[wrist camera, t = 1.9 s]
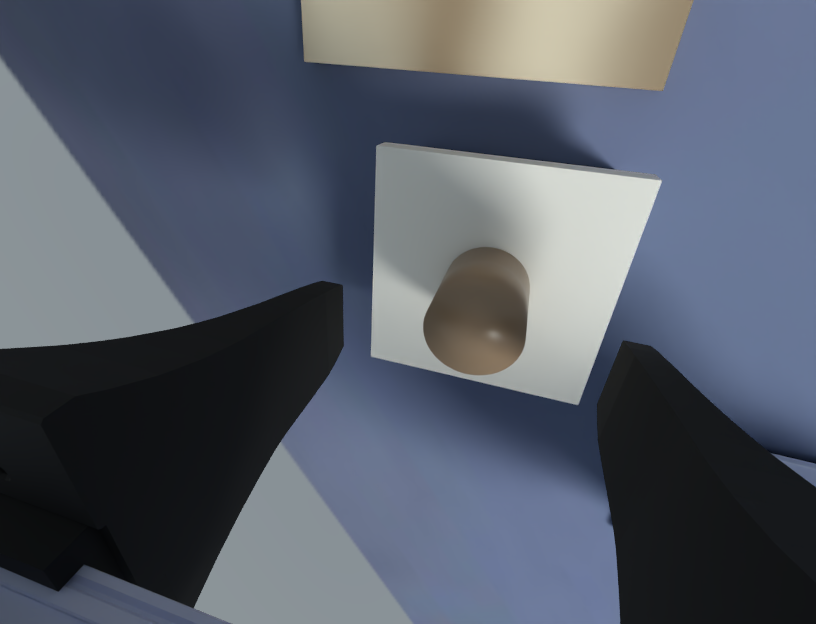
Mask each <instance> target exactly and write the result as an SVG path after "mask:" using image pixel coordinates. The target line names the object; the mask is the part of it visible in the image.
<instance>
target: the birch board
mask: <svg viewBox="0 0 816 624" xmlns="http://www.w3.org/2000/svg"><path fill="white" fill-rule="evenodd" d="M692 3H693V0H301V9H302V28H303V47H304V62H313V63H326V64H338V65H350V66H363V67H375V68H387V69H399V70H412V71H424V72H436V73H449V74H461V75H473V76H485V77H498V78H510V79H522V80H535V81H547V82H559V83H572V84H584V85H596V86H608V87H621V88H633V89H645V90H658V91H663V89H664V86H665V83H666V80H667V77H668V74H669V71H670V68H671V65H672V62H673V59H674V56H675V53H676V50H677V47H678V45H679V42H680V39H681V36H682V33H683V30H684V27H685V24H686V21H687V18H688V15H689V12H690V9H691V6H692Z"/></svg>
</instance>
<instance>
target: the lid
mask: <svg viewBox="0 0 816 624" xmlns="http://www.w3.org/2000/svg"><path fill="white" fill-rule="evenodd" d="M661 182H662V180H661V179H660V178H659V177H658V176H657V175H655V174H647V173H639V172H630V171H622V170H614V169H605V168H597V167H589V166H580V165H572V164H564V163H555V162H547V161H539V160H530V159H522V158H514V157H505V156H497V155H489V154H480V153H472V152H464V151H456V150H447V149H439V148H431V147H422V146H414V145H406V144H397V143H389V142H384V143H381V144H379V145H377V146H376V178H375V217H374V256H373V294H372V333H371V357H375V358H379V359H383V360H388V361H392V362H396V363H400V364H405V365H409V366H413V367H417V368H422V369H426V370H430V371H434V372H439V373H443V374H447V375H452V376H456V377H460V378H464V379H469V380H473V381H477V382H481V383H486V384H490V385H494V386H498V387H503V388H507V389H511V390H515V391H520V392H524V393H528V394H532V395H537V396H541V397H545V398H549V399H554V400H558V401H562V402H566V403H571V404H575V405H578V404H579V402H580V399H581V396H582V394H583V391H584V388H585V386H586V383H587V380H588V378H589V375H590V372H591V370H592V367H593V364H594V362H595V359H596V356H597V353H598V351H599V348H600V345H601V343H602V340H603V337H604V335H605V332H606V329H607V327H608V324H609V321H610V319H611V316H612V313H613V311H614V308H615V305H616V303H617V300H618V297H619V295H620V292H621V289H622V287H623V284H624V281H625V279H626V276H627V273H628V271H629V268H630V265H631V262H632V260H633V257H634V254H635V252H636V249H637V246H638V244H639V241H640V238H641V236H642V233H643V230H644V228H645V225H646V222H647V220H648V217H649V214H650V212H651V209H652V206H653V204H654V201H655V198H656V196H657V193H658V190H659V188H660V185H661Z"/></svg>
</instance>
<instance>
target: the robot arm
mask: <svg viewBox="0 0 816 624" xmlns="http://www.w3.org/2000/svg"><path fill="white" fill-rule="evenodd" d="M343 346H344V336H343V285H340V284H335V283H330V282H325V281H320V282H316V283H313V284H310V285H307V286H304V287H301V288H298V289H296V290H293V291H290V292H288V293H285V294H282V295H280V296H277V297H275V298H272V299H269V300H267V301H264V302H261V303H259V304H256V305H253V306H250V307H247V308H244V309H241V310H238V311H235V312H232V313H229V314H226V315H223V316H220V317H217V318H213V319H210V320H206V321H202V322H199V323H195V324H191V325H187V326H183V327H179V328H174V329H170V330H164V331H159V332H154V333H148V334H142V335H137V336H132V337H126V338H119V339H113V340H105V341H97V342H88V343H79V344H69V345H58V346H43V347H27V348H11V349H0V624H231V623H228V622H226V621H224V620H221V619H218V618H216V617H213V616H211V615H209V614H206V613H204V612H201V611H199V610H196V609H194V606H195V604H196V602H197V599H198V597H199V595H200V593H201V591H202V589H203V587H204V584H205V582H206V580H207V578H208V576H209V574H210V572H211V570H212V568H213V565H214V563H215V561H216V559H217V557H218V555H219V553H220V551H221V549H222V547H223V545H224V543H225V541H226V539H227V537H228V535H229V533H230V531H231V529H232V527H233V525H234V523H235V521H236V519H237V517H238V516H239V514H240V512H241V510H242V508H243V506H244V504H245V503H246V501H247V499H248V497H249V495H250V493H251V491H252V490H253V488H254V486H255V484H256V482H257V480H258V479H259V477H260V475H261V474H262V472H263V470H264V468H265V467H266V465H267V463H268V461H269V460H270V457H271V456H272V454H273V453H274V451H275V449H276V448H277V446H278V445H279V443H280V442H281V440H282V439H283V437H284V436H285V434H286V433H287V431H288V430H289V429H290V427H291V426H292V425H293V423H294V422H295V421H296V419H297V418H298V416H299V415H300V414H301V412H302V411H303V410H304V408H305V407H306V406H307V404H308V403H309V401H310V400H311V399H312V397H313V396H314V395H315V393H316V392H317V390H318V389H319V388H320V386H321V385H322V383H323V382H324V381H325V379H326V378H327V376H328V375H329V373H330V371H331V370H332V368H333V366H334V364H335V362H336V360H337V358H338V356H339V354H340V352H341V350H342V348H343ZM597 429H598V444H599V450H600V456H601V462H602V468H603V473H604V479H605V485H606V490H607V496H608V501H609V507H610V512H611V518H612V524H613V530H614V537H615V545H616V555H617V570H618V585H619V602H620V624H816V464H815V463H810V462H806V461H802V460H798V459H794V458H789V457H785V456H781V455H777V454H772V453H770V452H769V451H767V450H766V449H765V448H763V447H762V446H761V445H760V444H759V443H757V442H756V441H755V440H754V439H753V438H751V437H750V436H749V435H748V434H747V433H745V432H744V431H743V430H742V429H741V428H740V427H738V426H737V425H736V424H735V423H734V422H733V421H731V420H730V419H729V418H728V417H727V416H726V415H725V414H724V413H722V412H721V411H720V410H719V409H718V408H717V407H716V406H715V405H714V404H712V403H711V402H710V401H709V400H708V399H707V398H706V397H705V396H704V395H703V394H702V393H701V392H700V391H699V390H698V389H696V388H695V387H694V386H693V385H692V384H691V383H690V382H689V381H688V380H687V379H686V378H685V377H684V376H683V375H682V374H681V373H680V372H679V371H678V370H677V369H676V368H675V367H674V366H673V365H672V364H671V363H670V362H668V361H667V360H666V359H665V358H664V357H663V356H662V355H661V354H660V353H659V352H658V351H656V350H655V349H654V348H653V347H651V346H648V345H643V344H638V343H633V342H628V341H623V342H622V344H621V347H620V349H619V352H618V354H617V357H616V359H615V362H614V364H613V366H612V369H611V371H610V374H609V376H608V379H607V381H606V384H605V386H604V389H603V391H602V394H601V396H600V398H599V401H598V403H597Z"/></svg>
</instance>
